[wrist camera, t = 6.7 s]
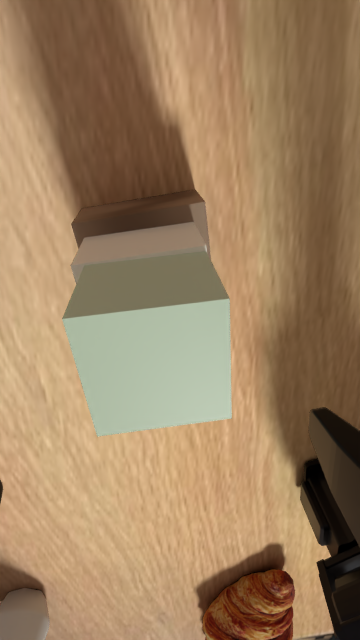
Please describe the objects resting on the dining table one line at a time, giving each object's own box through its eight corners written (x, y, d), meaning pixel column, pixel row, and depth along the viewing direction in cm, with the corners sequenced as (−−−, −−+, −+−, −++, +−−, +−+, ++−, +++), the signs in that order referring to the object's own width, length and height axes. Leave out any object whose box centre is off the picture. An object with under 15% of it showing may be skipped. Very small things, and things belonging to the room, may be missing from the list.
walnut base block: (194, 188, 18) (205, 201, 15) (206, 290, 21) (216, 317, 18) (82, 207, 18) (71, 224, 15) (110, 306, 21) (105, 336, 18)
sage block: (206, 251, 13) (229, 298, 9) (211, 350, 15) (231, 418, 12) (84, 265, 13) (62, 318, 9) (108, 363, 15) (97, 436, 11)
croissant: (224, 606, 51) (261, 673, 46) (168, 649, 45) (203, 731, 40) (289, 527, 41) (345, 600, 36) (228, 567, 35) (285, 662, 30)
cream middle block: (193, 221, 16) (206, 245, 13) (202, 316, 18) (215, 354, 15) (84, 237, 16) (70, 265, 13) (108, 330, 18) (102, 372, 15)
